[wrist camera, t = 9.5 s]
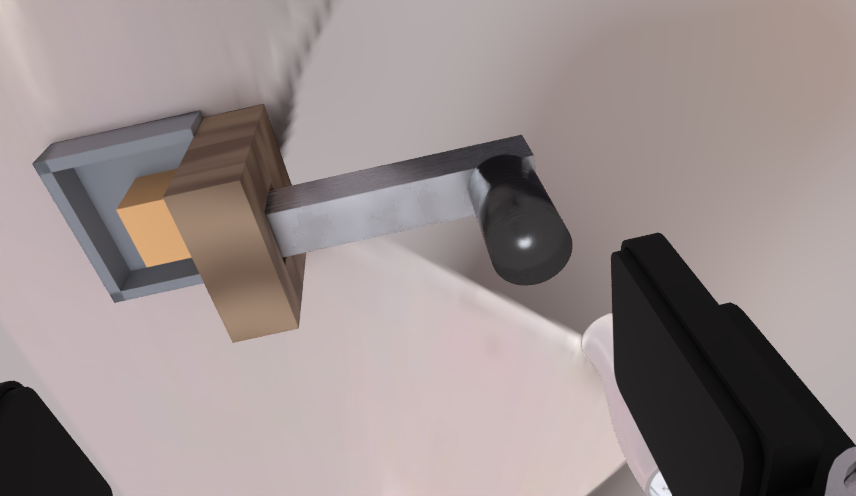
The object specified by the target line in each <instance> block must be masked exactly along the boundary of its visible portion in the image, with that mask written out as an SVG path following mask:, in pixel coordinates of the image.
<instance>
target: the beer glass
mask: <svg viewBox="0 0 856 496" xmlns="http://www.w3.org/2000/svg"><path fill="white" fill-rule="evenodd" d="M581 346H582V351H583V353H584V355H585V356H586V358H587V359H588V360H589V362H590V363H591V364H592V365H593V367H594V368H595V369H596V371H597V372H598V374H599V376H600V378H601V381H602V384H603V387H604V391H605V395H606V400H607V405H608V409H609V414H610V418H611V422H612V425H613V429H614V432H615V435H616V438H617V441H618V443H619V446H620V448H621V450H622V453H623V455H624V457H625V459H626V461H627V463H628V465H629V467H630V469H631V470H632V472H633V474H634V476H635V478H636V479H637V481H638V483H639V485H640V486H641V488H642V490H643V492H644V494H645V496H672V494H671V492H670V490H669V488H668V486H667V484H666V482H665V480H664V478H663V476H662V475H661V473H660V471H659V469H658V467H657V465H656V463H655V461H654V459H653V457H652V455H651V453H650V451H649V449H648V447H647V445H646V443H645V441H644V439H643V437H642V435H641V433H640V431H639V429H638V427H637V425H636V423H635V421H634V419H633V417H632V415H631V413H630V411H629V409H628V407H627V405H626V403H625V401H624V399H623V397H622V395H621V393H620V391H619V389H618V386H617V383H616V379H615V374H614V356H613V318H612V313H609V314H606V315H604V316H602V317H600V318H599V319H597V320H595V321H594V322H593V323H592V324H591V325H590V326H589V327H588V328H587V330H586V331H585V333H584V335H583V337H582V342H581Z"/></svg>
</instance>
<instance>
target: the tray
mask: <svg viewBox="0 0 856 496" xmlns="http://www.w3.org/2000/svg"><path fill="white" fill-rule="evenodd" d="M202 120H203V117H202V115H201V112H200V111H196V112H191V113H187V114H182V115H178V116H174V117H169V118H165V119H160V120H156V121H151V122H147V123H142V124H138V125H133V126H129V127H125V128H120V129H116V130H111V131H107V132H102V133H98V134H93V135H89V136H84V137H80V138H76V139H71V140H67V141H62V142H58V143H53V144H51V145H50V146H49V147H48V148H47V149H46V150H45V151H44V152H43V153H42V154H41V155H40V156H39V157H38V158H37V159H36V160H35V161H34V162H33V163H32V164H33V166H34V168H35V170H36V171H37V173H38V175H39V176H40V178H41V180H42V181H43V183H44V185H45V186H46V188H47V190H48V191H49V193H50V195H51V196H52V198H53V200H54V202H55V203H56V205H57V207H58V208H59V210H60V212H61V213H62V215H63V217H64V218H65V220H66V222H67V223H68V225H69V227H70V228H71V230H72V232H73V234H74V235H75V237H76V239H77V240H78V242H79V244H80V245H81V247H82V249H83V250H84V252H85V254H86V255H87V257H88V259H89V260H90V262H91V264H92V266H93V267H94V269H95V271H96V272H97V274H98V276H99V277H100V279H101V281H102V282H103V284H104V286H105V287H106V289H107V291H108V293H109V294H110V296H111V298H112V299H113V301H114V303H116V302H120V301H125V300H129V299H134V298H139V297H143V296H148V295H152V294H157V293H161V292H166V291H170V290H175V289H179V288H184V287H188V286H193V285H198V284H202V283H204V282H203V280H202V278H201V276H200V274H199V272H198V270H197V267H196V265H195V263H194V261H193V259H192V258H187V259H183V260H178V261H174V262H169V263H165V264H160V265H156V266H151V267H146V265H145V263H144V261H143V259H142V257H141V255H140V254H139V252H138V250H137V248H136V246H135V244H134V242H133V241H132V239H131V237H130V235H129V233H128V231H127V229H126V228H125V226H124V224H123V222H122V220H121V218H120V216H119V214H118V213H117V211H116V209H117V207H118V206H119V204H120V203H121V201H122V199H123V198H124V196H125V195H126V193H127V191H128V190H129V188H130V186H131V185H132V183H133V182H134V180H135V178H137V177H141V176H146V175H150V174H155V173H159V172H164V171H168V170H173V169H177V168H178V167H179V165H180V163H181V161H182V159H183V157H184V155H185V153H186V151H187V149H188V147H189V145H190V143H191V141H192V139H193V137H194V135H195V133H196V131H197V129H198V127H199V125H200V123H201V121H202Z"/></svg>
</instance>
